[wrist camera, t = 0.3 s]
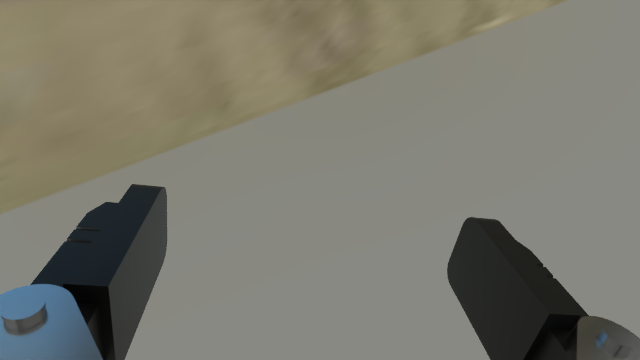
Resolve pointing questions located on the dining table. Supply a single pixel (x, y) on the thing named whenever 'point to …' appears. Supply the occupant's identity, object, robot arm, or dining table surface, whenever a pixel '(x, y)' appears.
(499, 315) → the robot arm
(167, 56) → the dining table surface
